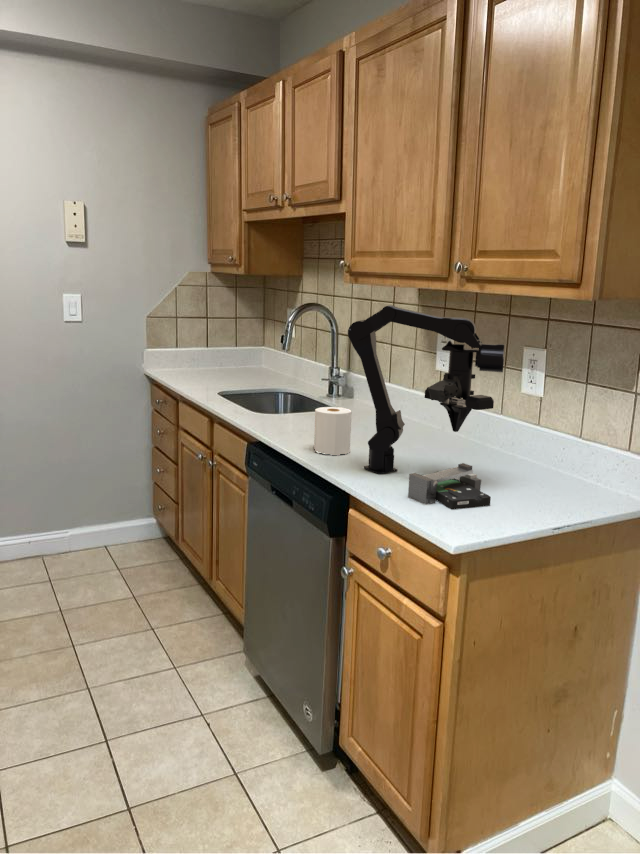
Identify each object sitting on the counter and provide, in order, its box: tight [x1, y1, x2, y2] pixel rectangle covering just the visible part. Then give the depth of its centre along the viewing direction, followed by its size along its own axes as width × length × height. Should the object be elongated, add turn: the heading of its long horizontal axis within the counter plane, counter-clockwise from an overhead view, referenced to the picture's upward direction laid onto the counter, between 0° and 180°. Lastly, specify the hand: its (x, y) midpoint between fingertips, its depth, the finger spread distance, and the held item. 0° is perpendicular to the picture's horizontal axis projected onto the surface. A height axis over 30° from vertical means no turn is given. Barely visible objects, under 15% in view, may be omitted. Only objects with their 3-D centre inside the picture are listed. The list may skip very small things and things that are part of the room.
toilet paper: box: [313, 406, 353, 456], centre depth 201 cm, size 10×10×12 cm
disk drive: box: [436, 478, 492, 511], centre depth 164 cm, size 10×3×15 cm
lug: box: [459, 472, 482, 491], centre depth 170 cm, size 5×2×4 cm, turn 34°
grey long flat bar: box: [422, 462, 474, 482], centre depth 165 cm, size 4×13×2 cm, turn 124°
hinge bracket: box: [407, 472, 438, 505], centre depth 161 cm, size 7×3×6 cm, turn 34°
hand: (455, 431), depth 178 cm, fingers closed
